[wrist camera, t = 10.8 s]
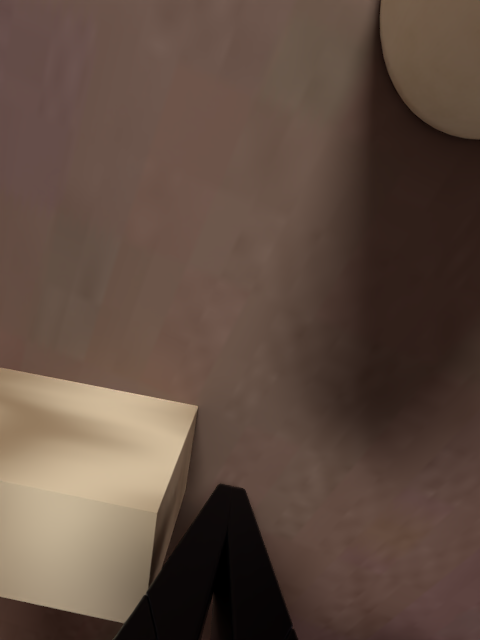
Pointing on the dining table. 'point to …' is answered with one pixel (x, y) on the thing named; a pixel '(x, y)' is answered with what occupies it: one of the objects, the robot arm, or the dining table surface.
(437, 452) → the dining table surface
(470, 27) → the candle
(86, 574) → the tan wooden block
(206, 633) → the dining table surface
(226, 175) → the dining table surface
